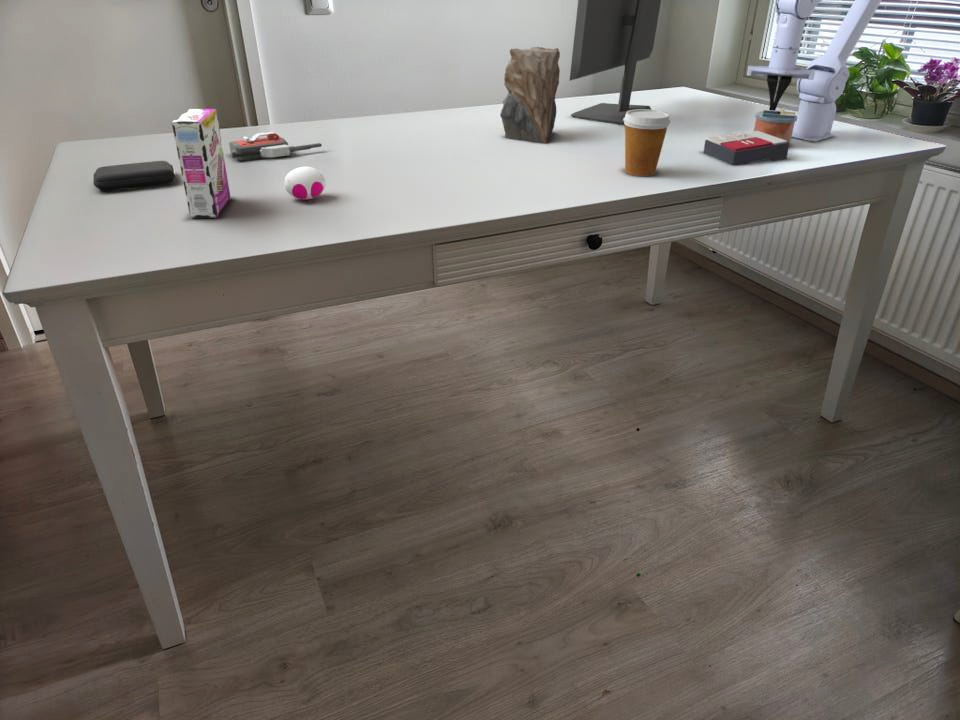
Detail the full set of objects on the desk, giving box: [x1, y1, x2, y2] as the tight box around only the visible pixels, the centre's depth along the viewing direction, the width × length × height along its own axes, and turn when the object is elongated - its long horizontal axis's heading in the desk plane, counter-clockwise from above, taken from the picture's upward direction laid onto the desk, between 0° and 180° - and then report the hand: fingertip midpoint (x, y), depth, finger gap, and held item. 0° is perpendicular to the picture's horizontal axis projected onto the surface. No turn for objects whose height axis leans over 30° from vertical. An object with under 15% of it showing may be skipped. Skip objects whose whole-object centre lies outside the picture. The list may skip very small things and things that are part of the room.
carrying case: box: [93, 160, 177, 192], centre depth 139 cm, size 11×3×15 cm
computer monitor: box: [569, 0, 662, 126], centre depth 185 cm, size 44×16×40 cm, turn 144°
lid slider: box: [780, 105, 796, 116], centre depth 166 cm, size 3×3×2 cm
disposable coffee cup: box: [623, 109, 671, 177], centre depth 146 cm, size 10×10×12 cm
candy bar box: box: [171, 108, 231, 219], centre depth 123 cm, size 11×5×16 cm, turn 5°
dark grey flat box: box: [703, 130, 791, 166], centre depth 160 cm, size 11×4×15 cm
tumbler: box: [753, 109, 797, 146], centre depth 169 cm, size 9×9×7 cm
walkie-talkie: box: [228, 131, 322, 162], centre depth 157 cm, size 9×4×20 cm
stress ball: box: [283, 166, 327, 203], centre depth 131 cm, size 8×8×7 cm
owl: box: [499, 46, 561, 144], centre depth 170 cm, size 13×13×20 cm
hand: (772, 109), depth 167 cm, fingers closed
